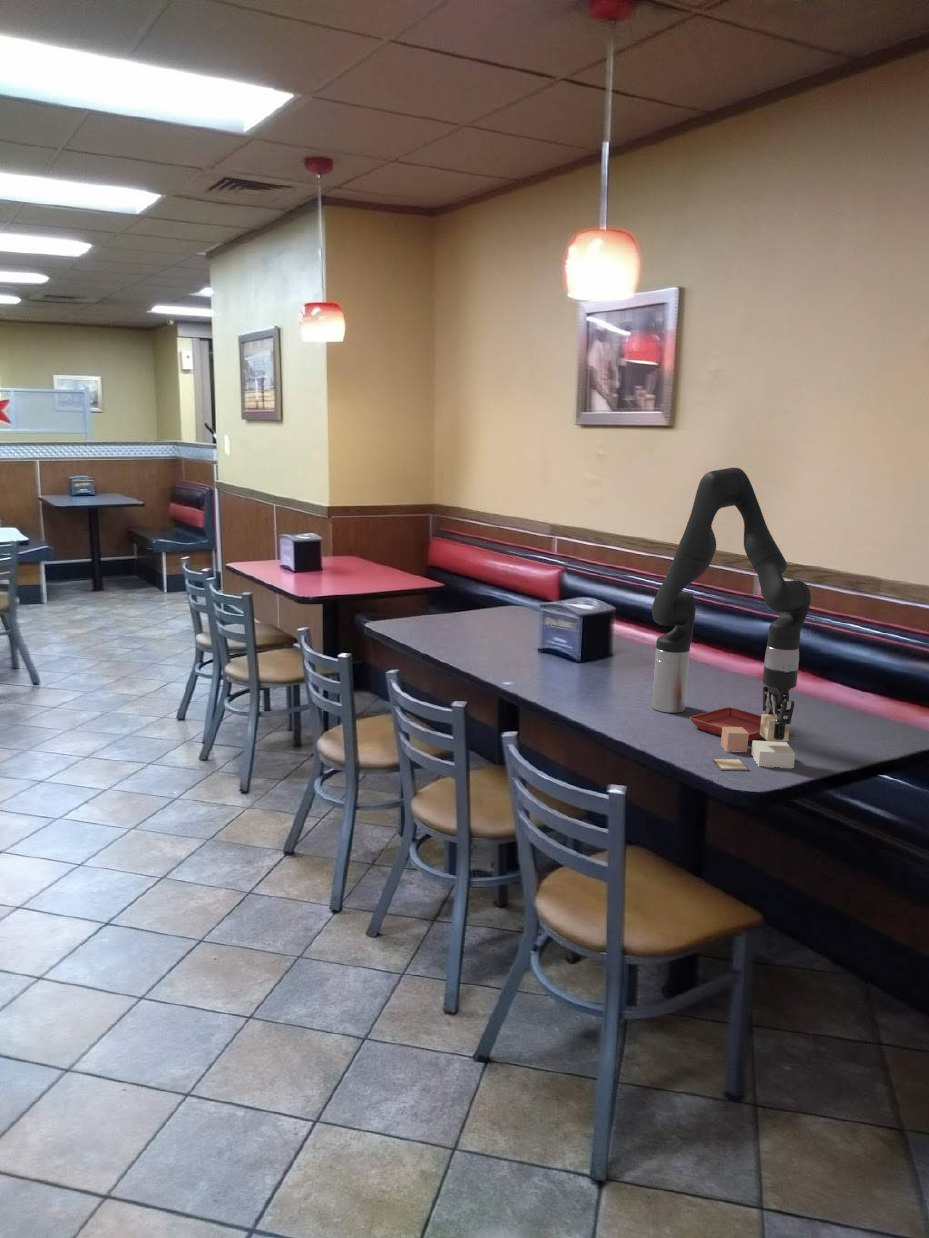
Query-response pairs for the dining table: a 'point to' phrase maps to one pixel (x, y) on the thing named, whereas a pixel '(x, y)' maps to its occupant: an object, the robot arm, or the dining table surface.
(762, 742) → the base slab
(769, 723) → the maple cube
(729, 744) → the terracotta cube
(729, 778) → the dining table surface
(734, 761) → the tile
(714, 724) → the plant saucer
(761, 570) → the robot arm
